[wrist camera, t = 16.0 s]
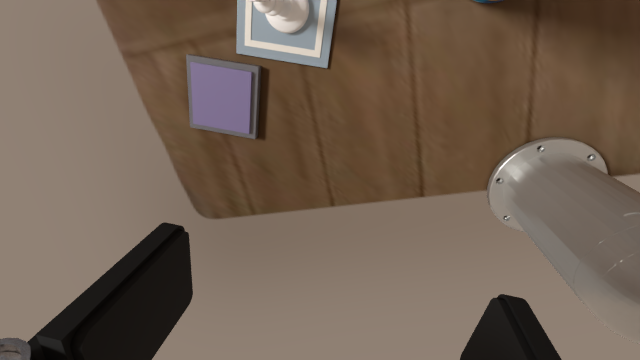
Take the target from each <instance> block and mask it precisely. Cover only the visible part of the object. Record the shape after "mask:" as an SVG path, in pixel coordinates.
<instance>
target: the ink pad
mask: <svg viewBox="0 0 640 360" xmlns="http://www.w3.org/2000/svg"><path fill="white" fill-rule="evenodd" d="M186 60H187V79H188V98H189V116H190V127H193V128H198V129H203V130H209V131H214V132H220V133H225V134H230V135H236V136H241V137H246V138H252V139H256V138H257V137H258V121H259V101H260V80H261V66H258V65H252V64H246V63H240V62H234V61H228V60H222V59H216V58H210V57H204V56H198V55H192V54H188V55H186Z"/></svg>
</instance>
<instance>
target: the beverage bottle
mask: <svg viewBox="0 0 640 360" xmlns="http://www.w3.org/2000/svg"><path fill="white" fill-rule="evenodd" d="M474 1H476V2H480V3H496V2H500V1H503V0H474Z"/></svg>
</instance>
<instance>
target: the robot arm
mask: <svg viewBox="0 0 640 360" xmlns="http://www.w3.org/2000/svg"><path fill="white" fill-rule="evenodd" d="M538 146H539V147H538ZM498 178H499V179H498ZM497 179H498V180H497ZM487 198H488V203H489V205H490V207H491V209H492V211H493V213H494V214H495V215H496V217H497V218H498V219H499V220H500V221H501V222H502V223H504V224H505V225H507V226H509V227H510V228H513V229H515V230H518V231H522V232H526V233H527V235H528V236H529V237H530V238H531V240H532V241H533V242H534V243H535V245H536V246H537V247H538V248H539V250H540V251H541V252H542V253H543V254H544V256H545V257H546V258H547V259H548V261H549V262H550V263H551V264H552V266H553V267H554V268H555V269H556V271H557V272H558V273H559V274H560V276H561V277H562V278H563V279H564V280H565V282H566V283H567V284H568V286H569V287H570V288H571V289H572V290H573V292H574V293H575V294H576V296H577V297H578V298H579V299H580V300H581V301H582V303H583V304H584V305H585V306H586V308H587V309H588V310H589V311H590V312H591V313H592V314H593V315H594V317H595V318H596V319H598V320H599V321H600V322H601V323H602V324H603V325H605V326H606V327H607V328H609V329H610V330H612V331H613V332H615V333H616V334H618V335H620V336H622V337H624V338H626V339H628V340H630V341H633V342H635V343H637V344H639V345H640V193H639V192H637V191H636V190H634V189H632V188H630V187H629V186H627V185H625V184H623V183H622V182H620V181H618V180H616V179H615V178H613V177H611V176H609V175H608V170H607V167H606V164H605V161H604V160H603V158H602V157H601V155H600V154H599V153H598V152H597V151H595V150H594V149H593V148H592V147H590V146H588V145H586V144H584V143H582V142H579V141H577V140H574V139H569V138H563V137H550V138H544V139H539V140H536V141H533V142H529V143H527V144H525V145H523V146H521V147H519V148H517V149H515V150H514V151H513V152H511V153H510V154H508V155H507V156H506V157H505V158H504V159H503V160H502V161H501V162H500V163H499V164H498V166H497V167H496V168H495V170H494V171H493V173H492V175H491V177H490V179H489V183H488V187H487ZM190 261H191V260H190V245H189V234H188V232H185V230H184V228H183V226H179V225H175V224H169V223H162V224H161V225H159V226H158V227H157V228H156V229H155V230H154V231H152V232H151V233H150V234H149V235H148V236H147V237H146V238H145V239H143V240H142V241H141V242H140V243H139V244H138V245H137V246H135V247H134V248H133V249H132V250H131V251H130V252H129V253H128V254H126V255H125V256H124V257H123V258H122V259H121V260H120V261H118V262H117V263H116V264H115V265H114V266H113V267H112V268H111V269H110V270H108V271H107V272H106V273H105V274H104V275H103V276H101V277H100V278H99V279H98V280H97V281H96V282H95V283H93V284H92V285H91V286H90V287H89V288H88V289H87V290H86V291H84V292H83V293H82V294H81V295H80V296H79V297H78V298H76V299H75V300H74V301H73V302H72V303H71V304H70V305H69V306H67V307H66V308H65V309H64V310H63V311H62V312H61V313H60V314H58V315H57V316H56V317H55V318H54V319H53V320H52V321H51V322H49V323H48V324H47V325H46V326H45V327H44V328H43V329H41V330H40V331H39V332H38V333H37V334H36V335H35V336H34V337H33V338H32V339H30V340H29V341H28V342H26V341H24V340H21V339H19V338H3V339H0V360H152V358H153V357H154V355H155V354H156V352H157V351H158V349H159V348H160V346H161V345H162V344H163V342H164V341H165V339H166V338H167V336H168V335H169V333H170V332H171V330H172V329H173V328H174V326H175V325H176V323H177V322H178V320H179V319H180V317H181V316H182V314H183V313H184V311H185V310H186V308H187V307H188V305H189V304H190V302H191V299H192V295H193V291H192V277H191V276H192V275H191V262H190ZM460 360H561V358H560V356H559V355H558V353H557V351H556V350H555V348H554V346H553V345H552V343H551V341H550V340H549V338H548V336H547V335H546V333H545V331H544V330H543V328H542V326H541V325H540V323H539V321H538V320H537V318H536V316H535V315H534V313H533V311H532V309H531V308H530V306H529V304H528V303H527V302H526V300H524V299H522V298H518V297H513V296H509V295H504V294H501V295H499V296H498V297H497V298H493V299H492V300H491V301H490V303H489V305H488V306H487V308H486V310H485V312H484V314H483V316H482V317H481V319H480V321H479V323H478V325H477V327H476V329H475V330H474V332H473V334H472V336H471V338H470V340H469V342H468V343H467V345H466V347H465V349H464V351H463V352H462V354H461V358H460Z"/></svg>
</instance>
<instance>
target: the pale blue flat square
mask: <svg viewBox="0 0 640 360" xmlns="http://www.w3.org/2000/svg"><path fill="white" fill-rule="evenodd" d="M308 3H309V14H308V18H307V20H306V22H305V24H304V25H303V27H302V28H301V29H299V30H298V31H296V32H294V33H282V32H280V31H278V30H276V29H275V28H274V27H272V25H271V24H270V23H269V22H268V20H267V18H266V15H265V13H261V12H259V11H258V10H257V9H256V7H255V6H254V3H253V2H250V1H249V0H237V53H238V54H244V55H250V56H256V57H262V58H268V59H274V60H280V61H286V62H292V63H298V64H305V65H311V66H317V67H323V68H328V60H329V53H330V46H331V39H332V32H333V25H334V18H335V11H336V4H337V0H308Z"/></svg>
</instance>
